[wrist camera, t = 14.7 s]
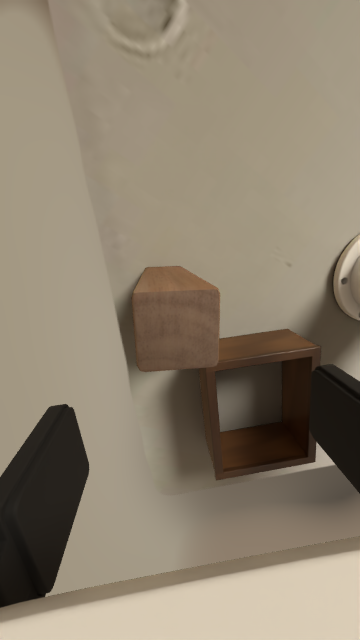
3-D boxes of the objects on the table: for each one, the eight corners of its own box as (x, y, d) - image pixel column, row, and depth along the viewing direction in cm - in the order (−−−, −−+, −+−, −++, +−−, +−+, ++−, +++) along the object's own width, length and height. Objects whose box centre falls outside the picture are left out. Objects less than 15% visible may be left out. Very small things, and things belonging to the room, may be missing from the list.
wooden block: (183, 336, 32) (219, 438, 15) (149, 338, 31) (142, 445, 14) (182, 265, 29) (222, 286, 12) (144, 267, 29) (130, 290, 12)
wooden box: (288, 327, 33) (321, 346, 26) (287, 425, 37) (315, 462, 31) (194, 341, 32) (205, 364, 26) (205, 439, 37) (216, 480, 30)
